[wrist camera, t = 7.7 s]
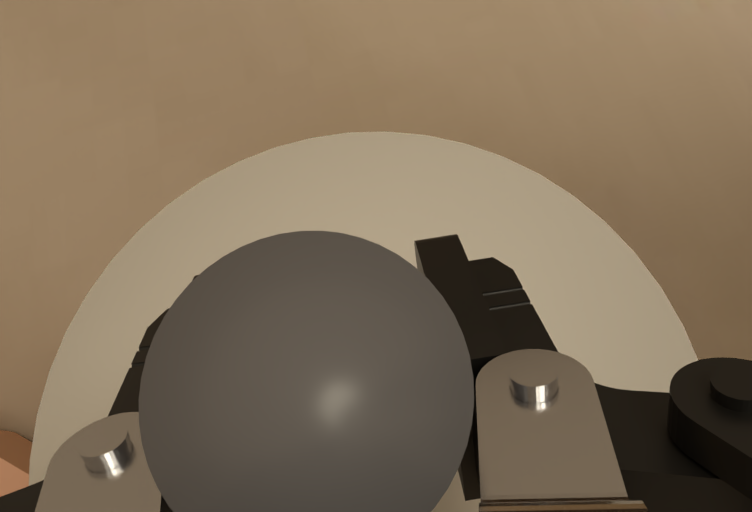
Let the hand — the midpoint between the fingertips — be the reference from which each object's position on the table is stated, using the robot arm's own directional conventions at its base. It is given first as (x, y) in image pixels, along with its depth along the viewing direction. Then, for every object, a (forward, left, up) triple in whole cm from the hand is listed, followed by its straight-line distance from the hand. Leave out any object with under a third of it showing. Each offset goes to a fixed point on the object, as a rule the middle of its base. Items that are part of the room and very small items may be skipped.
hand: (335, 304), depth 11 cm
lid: (+2, +1, -4) cm, 5 cm away
